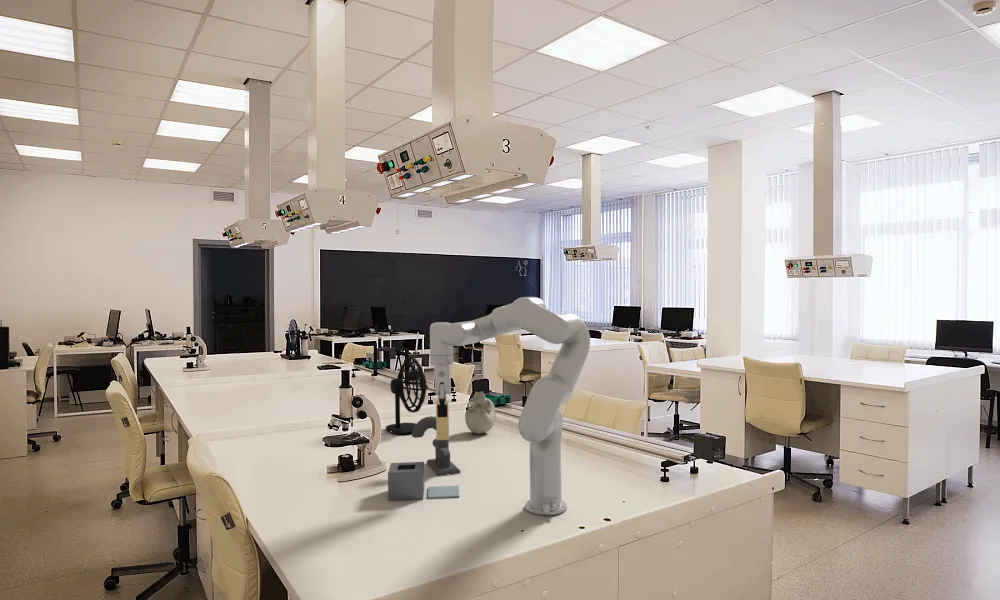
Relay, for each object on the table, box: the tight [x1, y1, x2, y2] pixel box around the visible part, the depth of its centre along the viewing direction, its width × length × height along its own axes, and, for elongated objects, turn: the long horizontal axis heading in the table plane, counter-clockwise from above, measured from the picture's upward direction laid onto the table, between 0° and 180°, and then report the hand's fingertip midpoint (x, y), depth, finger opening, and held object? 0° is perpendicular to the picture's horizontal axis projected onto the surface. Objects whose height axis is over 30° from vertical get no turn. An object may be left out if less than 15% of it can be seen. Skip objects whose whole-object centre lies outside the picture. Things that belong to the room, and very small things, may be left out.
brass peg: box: [435, 400, 450, 441], centre depth 197 cm, size 4×4×12 cm
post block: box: [387, 461, 425, 502], centre depth 196 cm, size 11×11×9 cm
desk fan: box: [385, 356, 429, 435], centre depth 288 cm, size 27×18×35 cm, turn 32°
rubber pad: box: [427, 485, 460, 500], centre depth 197 cm, size 10×10×1 cm
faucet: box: [411, 415, 461, 477], centre depth 223 cm, size 18×16×20 cm
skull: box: [464, 391, 496, 435], centre depth 280 cm, size 13×15×20 cm
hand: (442, 414), depth 197 cm, fingers closed on brass peg, 4 cm apart
